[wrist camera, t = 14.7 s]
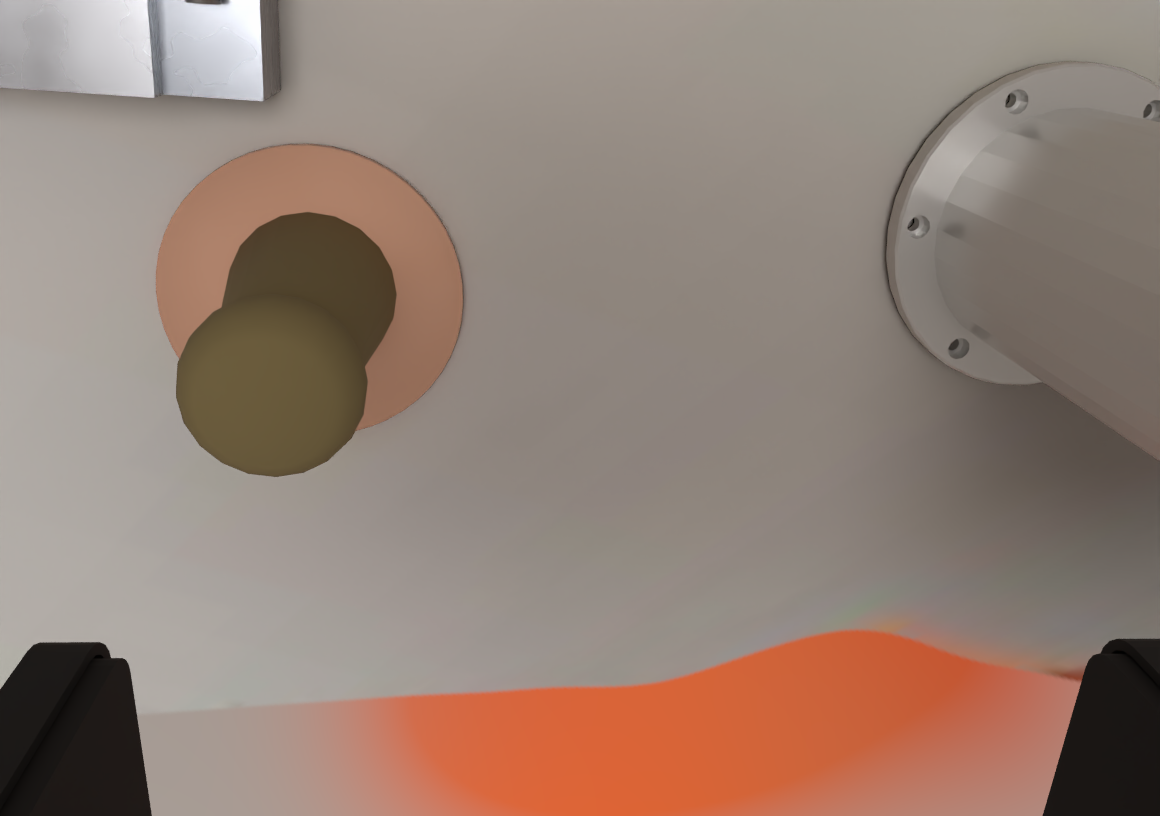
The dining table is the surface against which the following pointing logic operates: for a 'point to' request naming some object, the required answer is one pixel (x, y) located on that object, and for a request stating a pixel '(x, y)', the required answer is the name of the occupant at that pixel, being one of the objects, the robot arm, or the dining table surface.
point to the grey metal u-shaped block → (142, 47)
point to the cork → (288, 346)
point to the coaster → (336, 188)
